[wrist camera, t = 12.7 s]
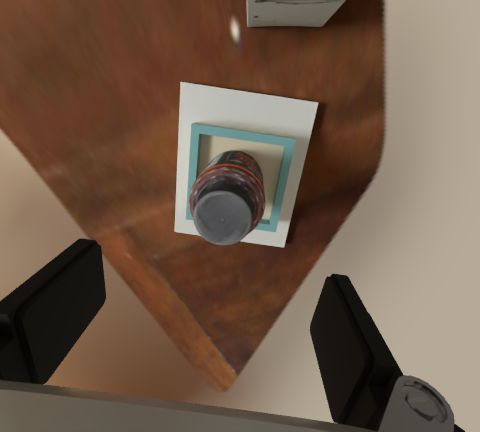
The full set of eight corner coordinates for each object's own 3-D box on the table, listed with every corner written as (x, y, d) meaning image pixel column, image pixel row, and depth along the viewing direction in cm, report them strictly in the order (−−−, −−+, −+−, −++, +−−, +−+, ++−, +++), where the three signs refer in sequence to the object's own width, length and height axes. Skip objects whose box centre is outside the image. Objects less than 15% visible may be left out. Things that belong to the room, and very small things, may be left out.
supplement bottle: (274, 171, 27) (287, 212, 16) (241, 213, 29) (234, 273, 18) (226, 136, 26) (209, 157, 15) (196, 183, 28) (162, 229, 17)
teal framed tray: (183, 82, 27) (171, 78, 23) (315, 102, 27) (326, 102, 23) (177, 227, 34) (166, 244, 30) (282, 242, 34) (287, 261, 30)
